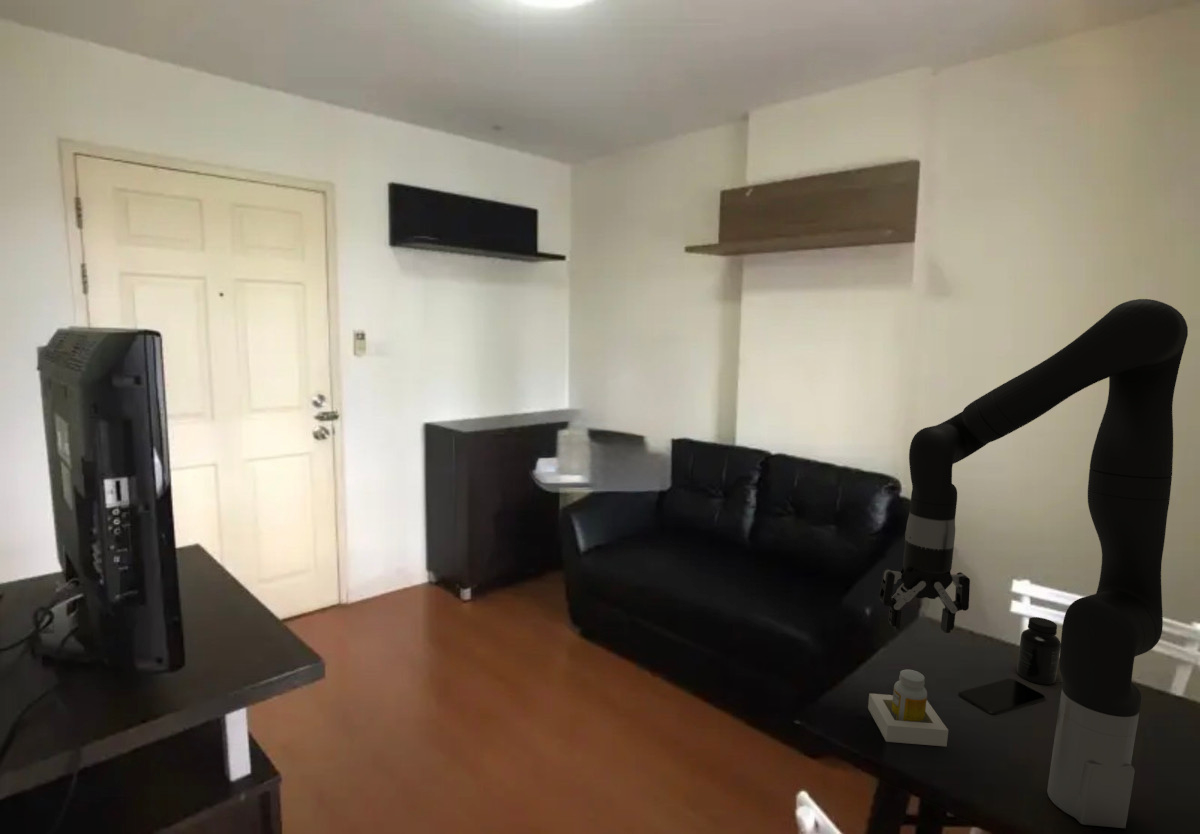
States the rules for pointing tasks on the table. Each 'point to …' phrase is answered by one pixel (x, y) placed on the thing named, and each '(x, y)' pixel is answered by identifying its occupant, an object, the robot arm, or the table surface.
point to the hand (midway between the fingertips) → (920, 629)
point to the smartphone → (1001, 696)
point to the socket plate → (907, 724)
